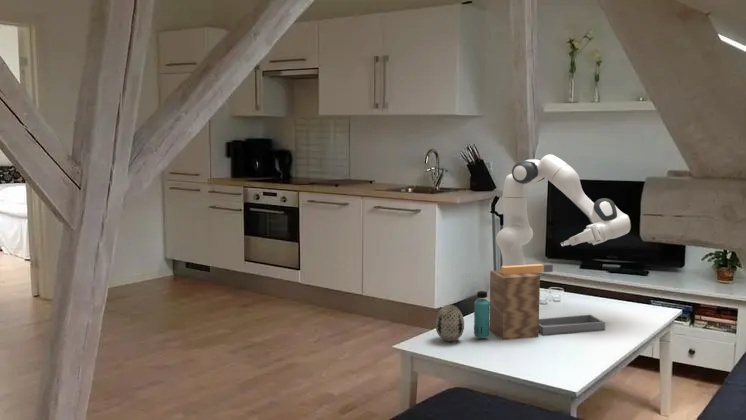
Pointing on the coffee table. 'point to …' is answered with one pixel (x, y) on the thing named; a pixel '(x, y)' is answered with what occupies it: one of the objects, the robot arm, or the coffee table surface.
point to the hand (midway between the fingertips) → (562, 244)
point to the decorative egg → (449, 323)
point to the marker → (526, 269)
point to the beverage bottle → (481, 315)
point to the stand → (514, 305)
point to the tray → (570, 325)
